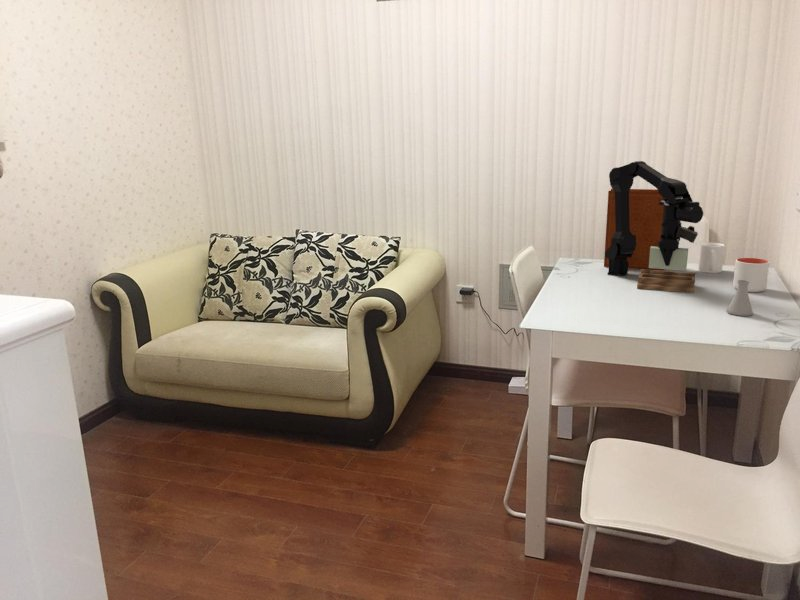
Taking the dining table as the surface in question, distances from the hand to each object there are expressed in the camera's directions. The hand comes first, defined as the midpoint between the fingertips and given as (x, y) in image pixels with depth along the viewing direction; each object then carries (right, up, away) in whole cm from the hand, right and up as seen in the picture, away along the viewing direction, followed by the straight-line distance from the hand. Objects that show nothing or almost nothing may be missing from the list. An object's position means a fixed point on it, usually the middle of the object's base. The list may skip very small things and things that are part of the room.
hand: (667, 264), depth 230 cm
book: (+1, +1, +34) cm, 34 cm away
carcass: (0, -8, +2) cm, 8 cm away
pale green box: (0, -1, 0) cm, 1 cm away
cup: (+26, -9, -4) cm, 28 cm away
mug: (+25, -2, +22) cm, 34 cm away
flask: (+9, -16, -30) cm, 36 cm away
